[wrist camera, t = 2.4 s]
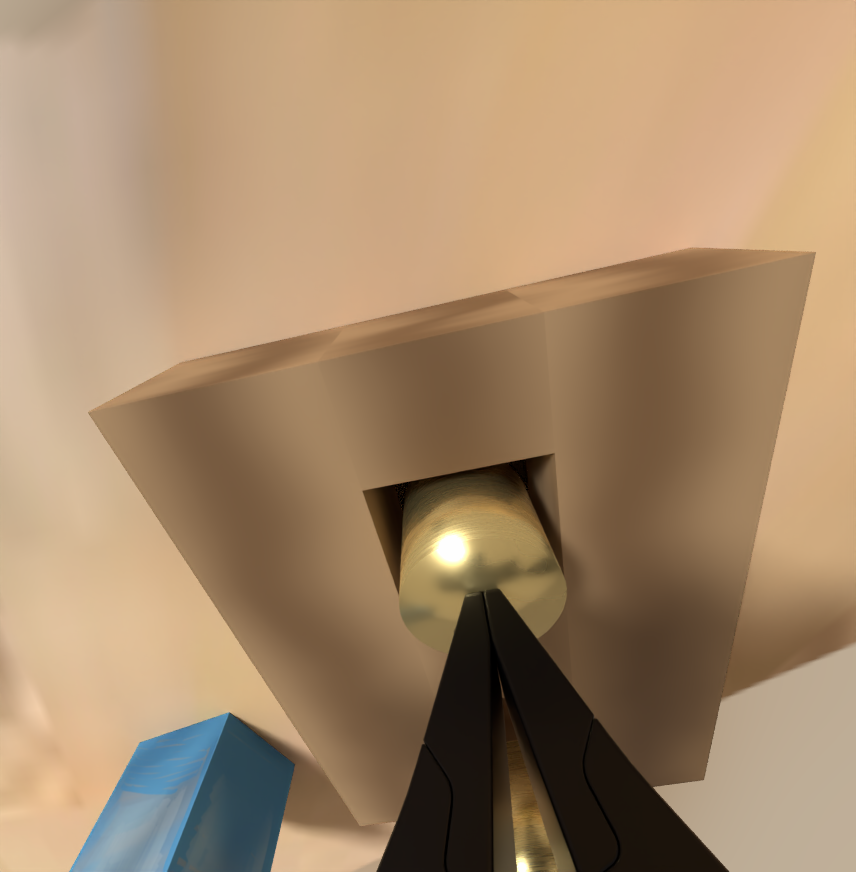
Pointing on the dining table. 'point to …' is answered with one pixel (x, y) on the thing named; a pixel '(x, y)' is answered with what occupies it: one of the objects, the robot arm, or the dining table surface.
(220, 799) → the perfume bottle
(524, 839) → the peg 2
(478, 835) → the robot arm
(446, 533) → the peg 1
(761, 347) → the socket board
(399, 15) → the dining table surface
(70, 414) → the dining table surface
